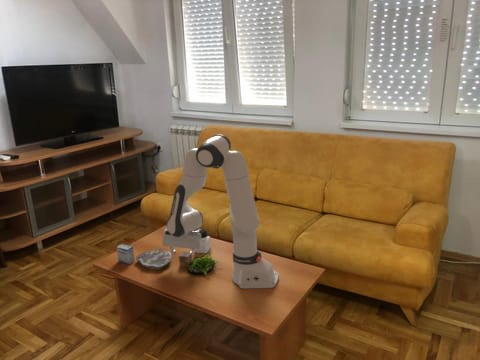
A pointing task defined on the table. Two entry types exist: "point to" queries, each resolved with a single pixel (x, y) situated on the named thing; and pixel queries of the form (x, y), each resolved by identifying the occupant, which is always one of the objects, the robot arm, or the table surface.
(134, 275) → the table surface
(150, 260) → the brain slice
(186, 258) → the walnut block
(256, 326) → the table surface
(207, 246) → the medicine bottle
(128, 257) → the medicine box
